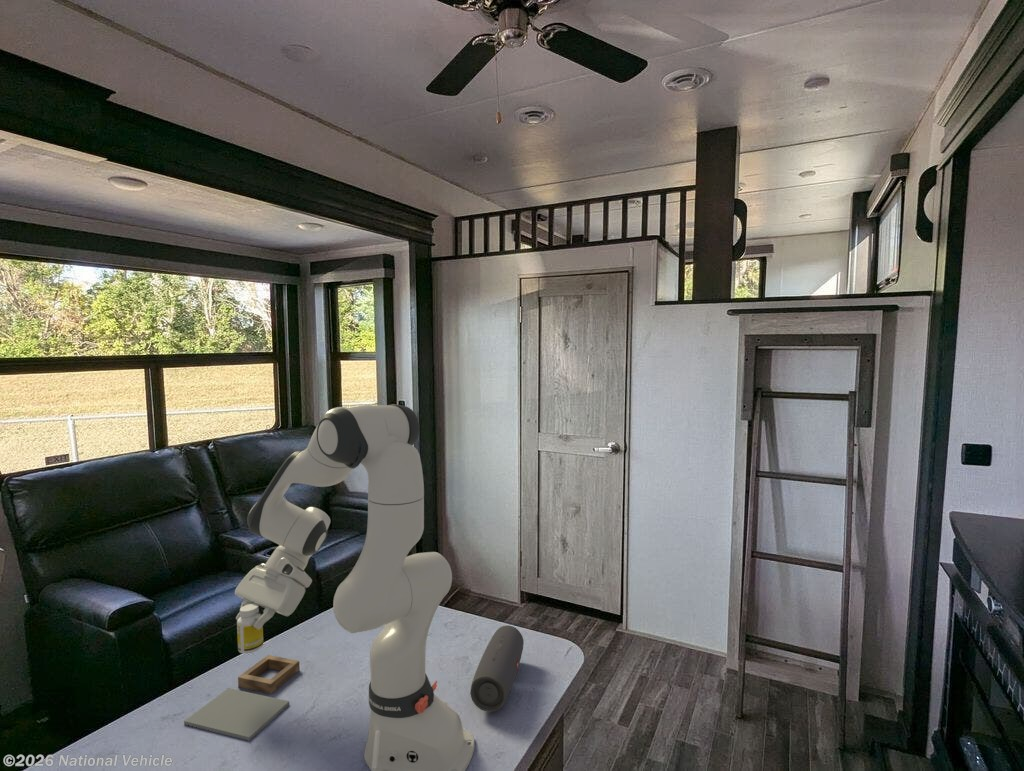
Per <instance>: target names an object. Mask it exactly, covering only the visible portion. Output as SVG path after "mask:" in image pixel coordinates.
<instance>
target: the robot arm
mask: <svg viewBox="0 0 1024 771" xmlns="http://www.w3.org/2000/svg"><path fill="white" fill-rule="evenodd" d="M419 436H420V423H419V420H418V417H417V414H416V412H414V410H413V409H412V408H410V407H409V406H406V405H403V404H402V405H401V404H394V403H393V404H388V405H385V404H382V405H381V404H380V405H379V404H373V405H372V404H366V405H357V406H352V407H345V406H337V407H333V408H331V409H329V410H328V411H326V413H325V414H323V416H322V417H321V418H320V420H319V422H318V424H317V426H316V427H315V429H314V431H313V433H312V435H311V438H310V440H309V442H308V445H307V447H306V448H305V449H304V450H296V451H294V452H293V453H291V454H290V455H289V456H288V457H287V458H286V459H285V460H284V462H283V463H282V465H281V466H280V467H279V468H278V470H277V472H276V473H275V475H274V476H273V478H272V479H271V480H270V482H269V484H267V487H266V488H265V490H264V492H263V493H262V495H261V496H260V498H259V499H258V500H257V501H256V502H255V504H253V506H252V507H251V509H250V510H249V512H248V514H247V517H246V521H247V527H248V529H249V532H250V533H251V534H254V535H256V536H259V537H261V538H264V539H266V540H269V541H271V542H273V543H275V544H277V545H278V546H277V547H276V548H275V549H274V550H273V552H272V553H271V555H270V556H269V558H268V559H267V561H265V563H264V562H261V563H260V564H258V565H255V567H253V568H252V569H251V570H249V572H248V573H246V575H245V576H244V577H243V578H242V579H241V581H240V582H239V583H238V585H237V586H236V588H235V590H234V595H235V596H237V597H238V598H240V599H242V600H243V601H242V602H241V604H240V608H241V607H243V606H245V605H248V604H258V606H260V607H262V608H264V610H263V613H262V614H261V616H260V617H259V618H258V619H257V618H256V619H255V620H254V622H253V623H252V627H254V628H256V629H258V630H260V629H261V628H262V626H264V625H265V624H266V623H267V622H268V621H269V620H270V619H271V618H273V616H274V615H275V613H277V614H280V615H282V616H285V617H289V616H290V615H292V614H293V613H294V612H295V610H296V609H297V608H298V605H299V604H300V602H301V601H302V599H303V598H304V595H305V593H306V589H307V588H309V587H310V585H311V584H312V582H313V579H312V578H311V577H310V576H309V574H307V573H306V571H305V569H306V567H307V565H308V563H309V560H310V558H311V557H312V555H315V554H317V553H318V552H319V551H320V549H321V547H322V546H323V544H324V542H325V540H326V539H327V537H328V529H329V527H330V524H331V517H330V516H329V515H328V514H327V513H326V512H325V511H324V510H322V508H321V509H320V508H318V507H315V506H308V507H307V508H306V509H303V508H301V507H300V506H297V505H295V504H294V503H292V502H290V501H288V500H287V499H286V498H285V496H284V495H286V493H287V491H288V490H289V488H290V486H291V485H292V484H302V485H308V486H313V487H319V488H326V487H330V486H334V485H338V484H340V483H341V482H343V481H345V480H346V479H347V477H349V475H350V473H351V472H352V470H354V469H356V468H357V467H359V466H360V464H361V465H362V466H363V467H364V469H365V471H366V472H367V476H368V479H367V480H368V485H367V486H368V487H367V489H368V490H367V524H366V525H367V527H366V534H365V541H364V544H363V547H362V550H361V552H360V555H359V557H358V559H357V561H356V563H355V565H354V566H353V568H352V569H351V571H350V572H349V574H348V575H347V576H346V577H345V578H344V580H343V581H342V582H341V583H340V584H339V585H338V586H337V589H336V591H335V593H334V596H333V603H332V605H333V614H334V617H335V619H336V621H337V622H338V625H340V627H341V628H343V629H344V630H345V631H347V633H348V632H349V633H350V634H357V633H362V632H363V633H364V632H368V631H372V630H377V629H380V628H381V627H383V626H384V627H383V628H382V630H380V632H379V633H378V635H377V636H376V637H375V639H374V640H373V642H372V644H371V647H370V652H369V664H370V665H369V666H370V667H369V668H370V682H369V683H368V684H369V685H368V706H369V708H370V718H369V728H368V736H367V740H366V745H365V748H364V752H363V754H364V755H363V758H364V761H365V764H366V765H367V766H368V768H369V770H370V771H466V770H467V769H468V766H469V765H470V763H471V760H472V759H473V755H474V752H475V746H476V745H475V744H476V743H475V738H474V734H473V733H471V732H469V731H467V730H464V728H463V727H464V726H463V723H462V720H461V717H460V715H459V713H458V712H456V711H455V710H454V709H453V708H451V707H450V706H449V704H448V703H446V701H443V700H442V699H441V698H440V697H438V696H437V695H436V694H435V690H436V689H437V686H438V684H437V683H438V680H435V681H434V683H433V684H432V685H431V681H430V680H429V677H428V675H427V673H426V655H427V654H426V653H427V651H426V650H427V639H428V635H429V630H430V627H431V624H432V621H433V619H434V617H435V615H436V612H437V610H438V607H439V606H440V604H441V602H442V601H443V599H444V598H445V596H446V595H447V594H448V593H449V591H450V590H451V587H452V581H453V573H452V569H451V565H450V563H449V562H448V560H447V559H446V558H445V556H443V555H442V554H441V553H439V552H436V551H427V552H418V553H413V554H410V555H408V554H409V553H410V552H411V550H412V549H413V548H414V546H416V545H417V543H418V542H419V541H420V540H421V538H422V535H423V534H424V530H425V486H424V485H425V484H424V474H423V472H424V471H423V464H422V461H421V455H420V453H419V450H418V449H417V448H416V447H415V446H414V445H415V443H416V442H417V440H418V439H419ZM240 617H241V616H240V611H239V612H238V613H237V615H236V617H235V620H236V621H237V620H238V619H239V618H240Z"/></svg>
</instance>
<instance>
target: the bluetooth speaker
mask: <svg viewBox="0 0 1024 771" xmlns="http://www.w3.org/2000/svg"><path fill="white" fill-rule="evenodd" d="M523 650H524V637H523V635H522V633H521V632H520V631H519V629H518V628H517V627H515V626H512V625H509V624H508V625H507V624H506V625H502V626H500V627H499V628H498V629H497V630H496V631H495V632H494V634H493V635H492V637H491V639H490V640H489V641H488V644H487V646H486V648H485V650H484V652H483V653H482V656H481V658H480V660H479V663H478V666H477V668H476V671H475V674H474V677H473V678H472V682H471V686H470V698H471V700H472V702H473V704H474V705H475V707H476V708H478V709H480V710H481V711H484V712H492V713H495V712H497V711H499V710H500V709H502V708H503V706H504V705H505V703H506V702H507V699H508V698H509V695H510V691H511V689H512V687H513V684H514V682H515V679H516V676H517V673H518V671H519V670H518V669H519V666H520V662H521V659H522V655H523Z"/></svg>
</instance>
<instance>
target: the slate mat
mask: <svg viewBox="0 0 1024 771" xmlns="http://www.w3.org/2000/svg"><path fill="white" fill-rule="evenodd" d="M288 706H290V701H289V700H285V699H280V698H276V697H272V696H267V695H263V694H257V693H253V692H248V691H244V690H239V689H234V688H230V687H228V688H226V689H225V690H223V691H222V692H221V693H220V694H218V695H217V696H215V697H214V698H213V699H212V700H210V701H209V702H207V703H206V704H204V706H202V707H201V708H200V709H198V710H197V711H195V712H194V713H193V714H192V715H190V716H189V717H187V718H186V719H185V720H183V725H185V726H188V725H189V727H192V726H193V727H192V728H196V727H197V728H198V729H201V730H204V729H205V731H208V730H209V732H212V733H217V734H221V735H224V736H228V737H232V738H237V739H240V740H244V741H249V742H250V741H251V740H252V739H253V738H254V737H255V736H256V735H257V734H259V733H260V732H261V731H262V730H263V729H264V728H265V727H267V726H268V724H270V723H271V721H273V720H274V719H275V718H276V717H277V716H279V715H280V713H282V712H283V711H284V710H285V709H286V708H288Z"/></svg>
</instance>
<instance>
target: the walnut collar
mask: <svg viewBox="0 0 1024 771" xmlns="http://www.w3.org/2000/svg"><path fill="white" fill-rule="evenodd" d="M267 670H276V671H279V672H277V673H276V674H274V675H273V677H271V678H266V677H262V676H261V675H262V674H263V673H264V672H266V671H267ZM299 671H300V660H297V659H291V658H287V657H286V658H285V657H281V656H276V655H275V656H274V655H270V654H267V655H265V657H263V658H262V659H261V660H259V661H258V662H256V663H255V664H254V665H253V666H251V667H249V668H248V669H247V670H245V671H244V672H243V673H242V674H240V675H239V676H237V686H238V688H241V689H247V690H252V691H255V692H261V693H266V694H270V695H272V694H273V693H274V692H276V691H277V690H279V688H280V687H281V686H283V685H284V684H285V683H286V682H288V681H289V680H290V679H291V678H292V677H294V676H295V675H296V674H297V673H298V672H299Z"/></svg>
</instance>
